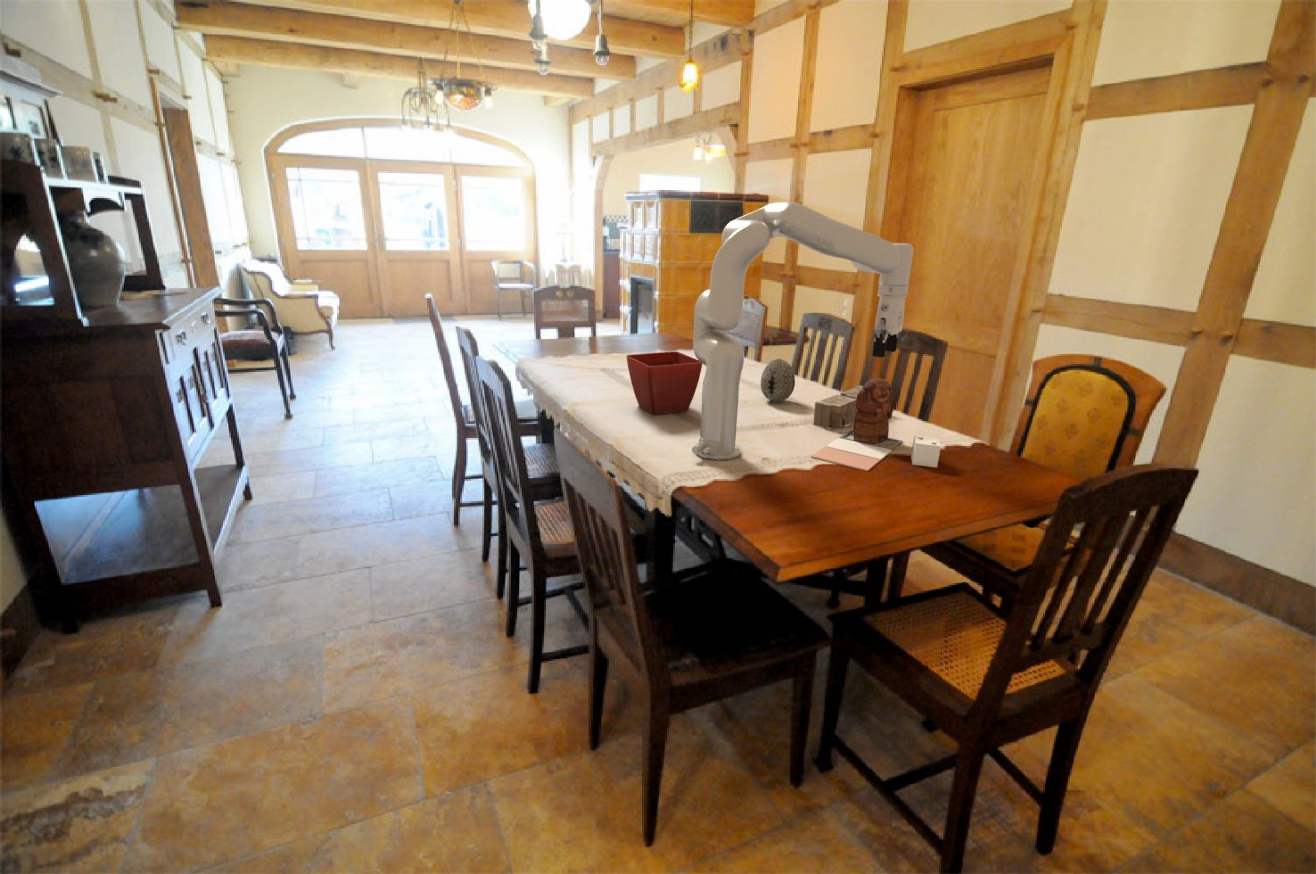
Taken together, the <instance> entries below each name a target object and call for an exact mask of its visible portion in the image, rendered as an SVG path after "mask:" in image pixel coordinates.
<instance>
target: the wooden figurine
mask: <svg viewBox="0 0 1316 874" xmlns="http://www.w3.org/2000/svg"><path fill="white" fill-rule="evenodd" d="M894 397H895V396H894V389H893V388H892V387H891V384H890V382H889V381H887V379H883V378H881V377H873V378H870V379H869V380H867V381H866V382H865V383H864V384H863V389H862V390H861V391H860V392H859V393H858V394H857V399H856V404H855V406H856V409H857V410H858V411H857V412H856V415H855V418H854V422H853V427H852V430H853V432H852V433H853V436H852V437H853V440H855V441H859V442H865V443H871V444H876V443H877V444H878V442H881V441H884V440H885V439H884V438H889V433H890V432H889V431H890V427H889V423H890V422H889V420H890V419H891V418H892V415H893V411H894V404H893V402H894Z"/></svg>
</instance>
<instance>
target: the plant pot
mask: <svg viewBox="0 0 1316 874" xmlns="http://www.w3.org/2000/svg"><path fill="white" fill-rule="evenodd" d="M626 363H627V368H628V369H627V370H628V373H629V379H630V382H631V387H632V390H633V393H634V396H635V398H636V403H637V404H638V406H639V407H641V408H642V409H644V410H645V411H647V412H649V413H650V414H652V415H662V414H672V413H680V412H686V411H689V409H690V406H691V404H692V401H693V399H694V397H695V393H696V390H697V387H698V384H699V381H700V378H701V377H700V376H701V374H702V373H701V372H702V368H703V363H701V362H700V361H699V360H698V359H697V358H696V357H695V358H694V357H692V356H690V355H687V354H685V353H682V352H679V351H662V352H661V351H660V352H648V353H636V354H626Z"/></svg>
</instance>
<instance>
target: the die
mask: <svg viewBox="0 0 1316 874" xmlns="http://www.w3.org/2000/svg"><path fill="white" fill-rule="evenodd" d="M941 448H942V446H941V443H940V441H939V438H933V437H924V436H917V435H916V436H915V435H914V436H913V442H912V448H911V452H910V453H911V454H910V459H911V464H912V465H913V466H923V467H931V468H938V463H939V459H940V453H941Z"/></svg>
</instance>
